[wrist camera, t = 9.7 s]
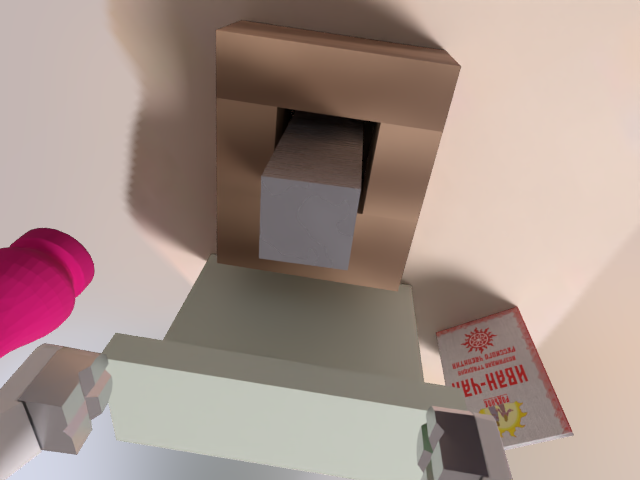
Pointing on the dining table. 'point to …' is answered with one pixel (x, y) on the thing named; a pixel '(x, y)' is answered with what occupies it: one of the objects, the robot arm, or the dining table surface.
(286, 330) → the pale green stepped block
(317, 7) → the dining table surface
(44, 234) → the pepper mill
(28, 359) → the robot arm
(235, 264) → the socket
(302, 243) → the peg
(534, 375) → the tea bag
